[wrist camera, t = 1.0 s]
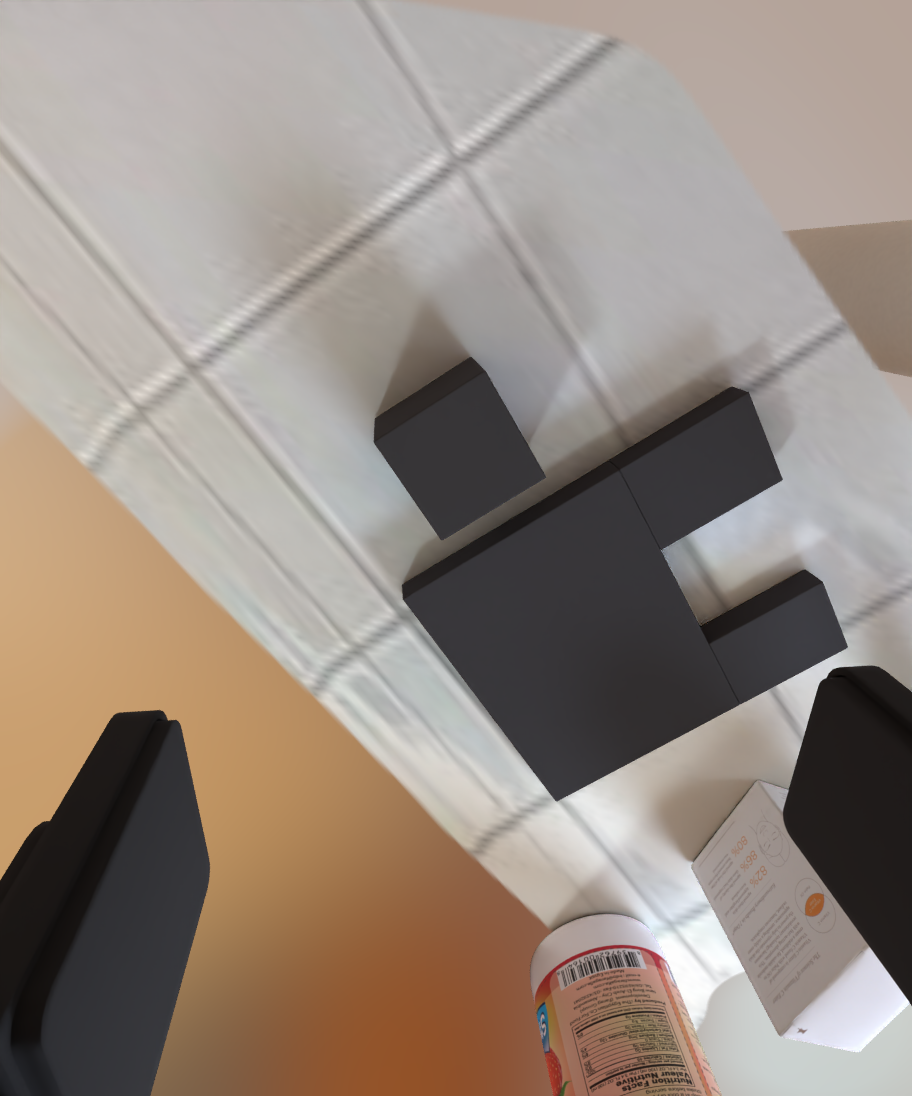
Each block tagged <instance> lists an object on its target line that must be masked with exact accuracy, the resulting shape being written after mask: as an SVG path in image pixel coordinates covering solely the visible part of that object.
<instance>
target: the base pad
mask: <svg viewBox="0 0 912 1096" xmlns="http://www.w3.org/2000/svg"><path fill="white" fill-rule="evenodd" d="M782 480H783V479H782V476H781V474H780V471H779V469H778V466H777V464H776V461H775V459H774V456H773V453H772V451H771V448H770V446H769V443H768V441H767V438H766V435H765V433H764V430H763V428H762V425H761V423H760V420H759V417H758V415H757V412H756V410H755V407H754V405H753V402H752V400H751V397H750V394H749V392H746V391H743V390H741V389H738V388H735V387H730V388H729V389H727V390H725V391H724V392H722V393H720V394H719V395H717V396H715V397H714V398H712V399H710V400H709V401H707V402H705V403H704V404H702V405H700V406H699V407H697V408H695V409H694V410H692V411H690V412H689V413H687V414H685V415H684V416H682V417H680V418H679V419H677V420H675V421H674V422H672V423H670V424H669V425H667V426H665V427H664V428H662V429H660V430H659V431H657V432H655V433H654V434H652V435H650V436H649V437H647V438H645V439H644V440H642V441H640V442H639V443H637V444H635V445H634V446H632V447H630V448H629V449H627V450H625V451H624V452H622V453H620V454H619V455H617V456H615V457H614V458H612V459H610V460H609V461H607V462H606V463H604V464H602V465H601V466H599V467H597V468H596V469H594V470H592V471H591V472H589V473H587V474H586V475H584V476H582V477H581V478H579V479H577V480H576V481H574V482H572V483H571V484H569V485H567V486H566V487H564V488H562V489H561V490H559V491H557V492H556V493H554V494H552V495H551V496H549V497H547V498H546V499H544V500H542V501H541V502H539V503H537V504H536V505H534V506H532V507H531V508H529V509H527V510H526V511H524V512H522V513H521V514H519V515H517V516H516V517H514V518H513V519H511V520H509V521H508V522H506V523H504V524H503V525H501V526H499V527H498V528H496V529H494V530H493V531H491V532H489V533H488V534H486V535H484V536H483V537H481V538H479V539H478V540H476V541H474V542H473V543H471V544H469V545H468V546H466V547H464V548H463V549H461V550H459V551H458V552H456V553H454V554H453V555H451V556H449V557H448V558H446V559H444V560H443V561H441V562H439V563H438V564H436V565H434V566H433V567H431V568H429V569H428V570H426V571H424V572H423V573H421V574H419V575H418V576H416V577H414V578H413V579H411V580H409V581H408V582H406V583H404V584H403V585H402V592H403V600H404V601H405V603H406V604H407V605H408V607H409V608H410V609H411V611H412V612H413V613H414V614H415V616H416V617H417V618H418V620H419V621H420V622H421V624H422V625H423V626H424V628H425V629H426V630H427V632H428V633H429V634H430V636H431V637H432V638H433V640H434V641H435V642H436V644H437V645H438V646H439V648H440V649H441V650H442V651H443V653H444V654H445V655H446V657H447V658H448V659H449V661H450V662H451V663H452V665H453V666H454V667H455V669H456V670H457V671H458V673H459V674H460V675H461V677H462V678H463V679H464V681H465V682H466V683H467V685H468V686H469V687H470V688H471V690H472V691H473V692H474V694H475V695H476V696H477V698H478V699H479V700H480V702H481V703H482V704H483V706H484V707H485V708H486V710H487V711H488V712H489V714H490V715H491V716H492V718H493V719H494V720H495V721H496V723H497V724H498V725H499V727H500V728H501V729H502V731H503V732H504V733H505V735H506V736H507V737H508V739H509V740H510V741H511V743H512V744H513V745H514V747H515V748H516V749H517V751H518V752H519V753H520V755H521V756H522V757H523V758H524V760H525V761H526V762H527V764H528V765H529V766H530V768H531V769H532V770H533V772H534V773H535V774H536V776H537V777H538V778H539V780H540V781H541V782H542V784H543V785H544V786H545V788H546V789H547V790H548V792H549V793H550V794H551V795H552V797H553V798H554V799H555V801H559V800H561V799H562V798H564V797H566V796H568V795H570V794H572V793H574V792H576V791H578V790H579V789H581V788H583V787H585V786H587V785H589V784H591V783H593V782H595V781H596V780H598V779H600V778H602V777H604V776H606V775H608V774H610V773H612V772H613V771H615V770H617V769H619V768H621V767H623V766H625V765H627V764H629V763H631V762H632V761H634V760H636V759H638V758H640V757H642V756H644V755H646V754H648V753H649V752H651V751H653V750H655V749H657V748H659V747H661V746H663V745H665V744H666V743H668V742H670V741H672V740H674V739H676V738H678V737H680V736H682V735H683V734H685V733H687V732H689V731H691V730H693V729H695V728H697V727H699V726H700V725H702V724H704V723H706V722H708V721H710V720H712V719H714V718H716V717H717V716H719V715H721V714H723V713H725V712H727V711H729V710H731V709H733V708H734V707H736V706H738V705H739V704H742V703H744V702H746V701H748V700H750V699H752V698H754V697H755V696H757V695H759V694H761V693H763V692H765V691H767V690H769V689H771V688H772V687H774V686H776V685H778V684H780V683H782V682H784V681H786V680H788V679H789V678H791V677H793V676H795V675H797V674H799V673H801V672H803V671H805V670H806V669H808V668H810V667H812V666H814V665H816V664H818V663H820V662H822V661H823V660H825V659H827V658H829V657H831V656H833V655H835V654H837V653H839V652H840V651H842V650H844V649H846V648H848V646H847V643H846V641H845V638H844V636H843V633H842V630H841V628H840V625H839V623H838V620H837V618H836V615H835V612H834V610H833V607H832V605H831V602H830V600H829V597H828V595H827V592H826V589H825V587H824V584H823V582H822V581H821V580H819V579H818V578H816V577H815V576H814V575H812V574H811V573H809V572H808V571H807V570H803V571H801V572H799V573H797V574H796V575H794V576H792V577H790V578H788V579H787V580H785V581H783V582H781V583H779V584H778V585H776V586H774V587H772V588H770V589H768V590H767V591H765V592H763V593H761V594H759V595H758V596H756V597H754V598H752V599H750V600H748V601H747V602H745V603H743V604H741V605H739V606H738V607H736V608H734V609H732V610H730V611H729V612H727V613H725V614H723V615H721V616H719V617H718V618H716V619H714V620H712V621H710V622H709V623H707V624H705V625H703V626H701V627H700V626H699V624H698V622H697V620H696V618H695V616H694V614H693V612H692V610H691V609H690V607H689V605H688V603H687V601H686V599H685V597H684V595H683V593H682V591H681V589H680V587H679V585H678V583H677V581H676V579H675V577H674V575H673V573H672V572H671V570H670V568H669V566H668V564H667V562H666V560H665V558H664V556H663V554H662V552H661V550H660V549H663V548H665V547H667V546H669V545H670V544H672V543H674V542H675V541H677V540H679V539H681V538H682V537H684V536H686V535H688V534H689V533H691V532H693V531H695V530H696V529H698V528H700V527H702V526H703V525H705V524H707V523H709V522H710V521H712V520H714V519H716V518H717V517H719V516H721V515H723V514H724V513H726V512H728V511H730V510H731V509H733V508H735V507H737V506H738V505H740V504H742V503H743V502H745V501H747V500H749V499H750V498H752V497H754V496H756V495H757V494H759V493H761V492H763V491H764V490H766V489H768V488H770V487H771V486H773V485H775V484H777V483H778V482H780V481H782Z"/></svg>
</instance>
